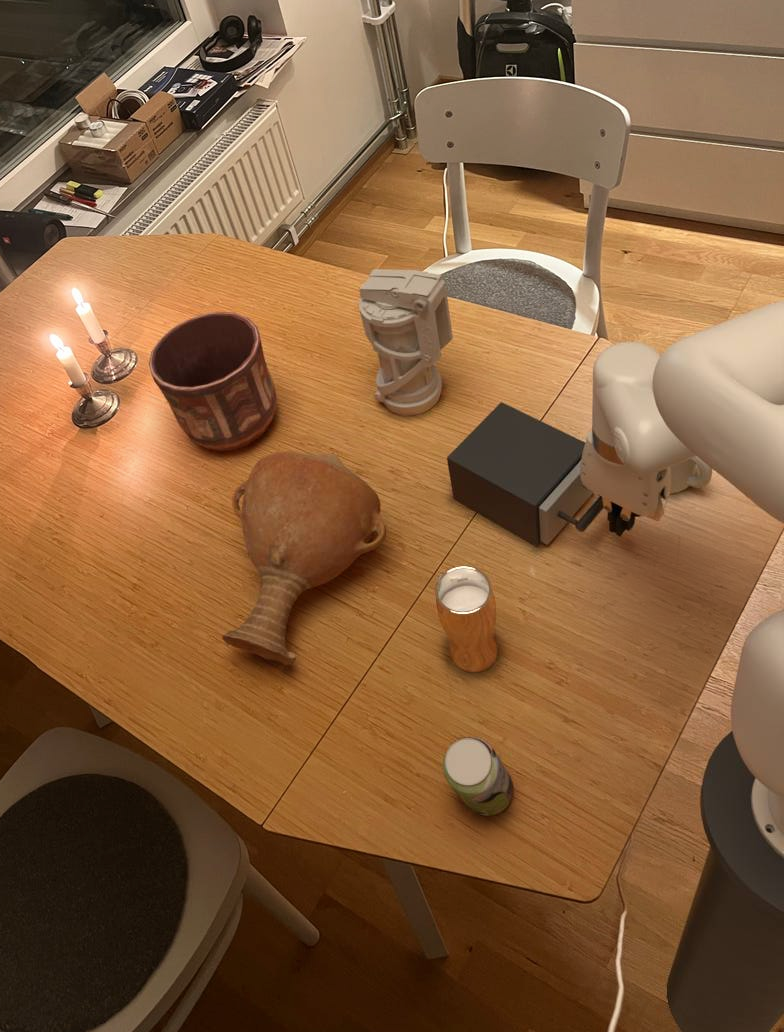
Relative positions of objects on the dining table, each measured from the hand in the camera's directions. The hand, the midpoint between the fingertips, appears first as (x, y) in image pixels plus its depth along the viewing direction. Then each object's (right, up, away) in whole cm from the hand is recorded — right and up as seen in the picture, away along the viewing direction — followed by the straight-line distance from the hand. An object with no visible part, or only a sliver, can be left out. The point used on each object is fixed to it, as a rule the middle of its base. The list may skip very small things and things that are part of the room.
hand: (620, 526), depth 119 cm
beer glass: (-19, -16, -1) cm, 25 cm away
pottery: (-53, +13, +35) cm, 65 cm away
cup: (+11, +6, +9) cm, 15 cm away
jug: (-42, -9, +12) cm, 44 cm away
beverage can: (-21, -30, -14) cm, 39 cm away
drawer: (-7, +2, +10) cm, 13 cm away
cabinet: (-10, +4, +13) cm, 17 cm away
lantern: (-23, +18, +30) cm, 42 cm away
